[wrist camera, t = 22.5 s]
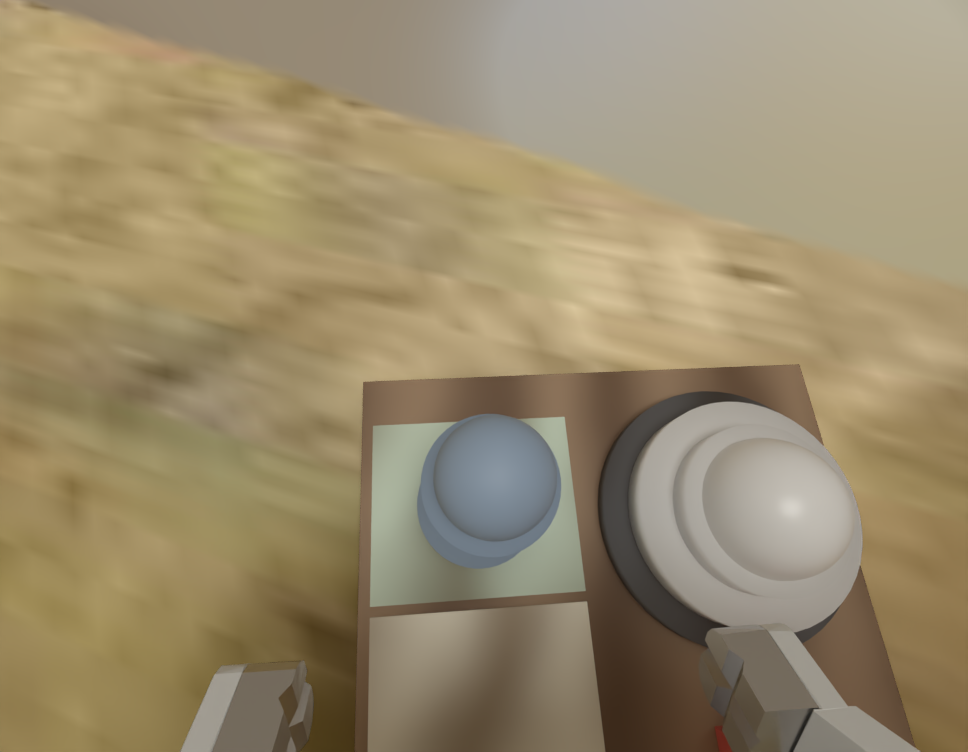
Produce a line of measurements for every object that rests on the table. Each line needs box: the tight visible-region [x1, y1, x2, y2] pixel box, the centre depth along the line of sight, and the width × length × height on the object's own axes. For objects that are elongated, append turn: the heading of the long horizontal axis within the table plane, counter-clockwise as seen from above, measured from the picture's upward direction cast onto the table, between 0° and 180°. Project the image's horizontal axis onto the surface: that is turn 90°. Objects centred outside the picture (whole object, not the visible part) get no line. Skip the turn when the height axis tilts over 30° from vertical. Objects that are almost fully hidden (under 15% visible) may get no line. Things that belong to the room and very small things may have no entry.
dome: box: [628, 402, 862, 632], centre depth 18 cm, size 9×9×5 cm
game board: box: [355, 364, 915, 752], centre depth 19 cm, size 22×26×2 cm
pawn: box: [417, 414, 561, 569], centre depth 16 cm, size 5×5×11 cm
